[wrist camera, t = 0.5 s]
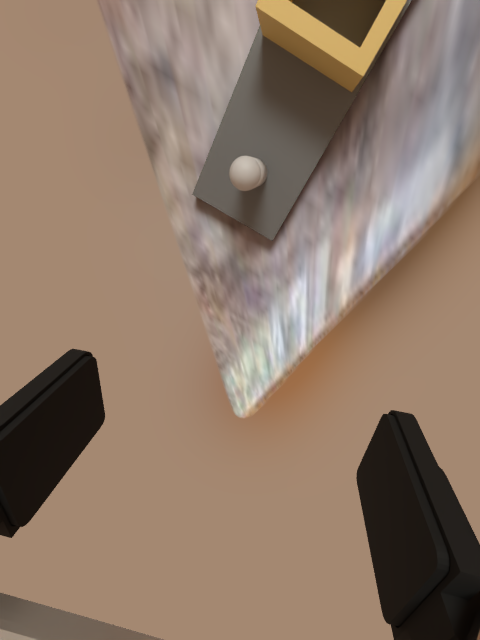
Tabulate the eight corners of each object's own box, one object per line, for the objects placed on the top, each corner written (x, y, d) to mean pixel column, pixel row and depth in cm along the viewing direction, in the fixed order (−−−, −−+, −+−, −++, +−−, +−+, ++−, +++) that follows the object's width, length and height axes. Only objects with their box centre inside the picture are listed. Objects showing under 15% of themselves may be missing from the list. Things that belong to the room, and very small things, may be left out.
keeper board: (322, -116, 22) (337, -286, 14) (432, -38, 23) (509, -155, 15) (196, 193, 33) (164, 201, 25) (273, 238, 34) (266, 260, 26)
